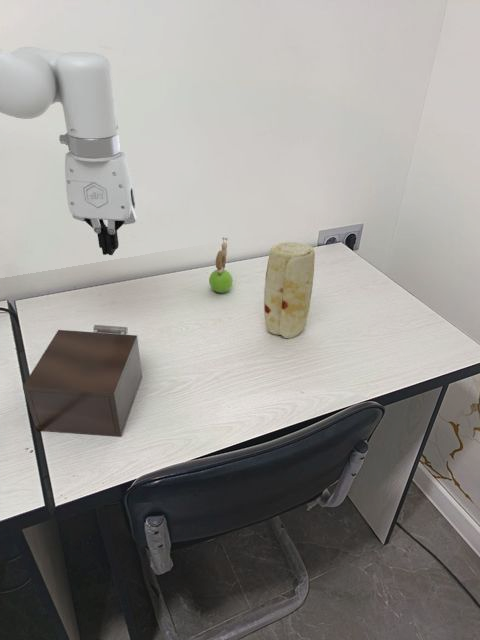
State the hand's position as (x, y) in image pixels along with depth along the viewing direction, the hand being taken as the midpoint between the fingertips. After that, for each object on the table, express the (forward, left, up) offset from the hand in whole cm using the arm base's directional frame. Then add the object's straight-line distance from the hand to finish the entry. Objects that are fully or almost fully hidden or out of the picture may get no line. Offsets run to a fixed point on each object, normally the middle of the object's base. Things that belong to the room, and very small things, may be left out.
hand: (109, 251), depth 88 cm
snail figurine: (+18, +21, -19) cm, 34 cm away
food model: (+33, +6, -19) cm, 39 cm away
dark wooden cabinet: (0, -19, -19) cm, 27 cm away
